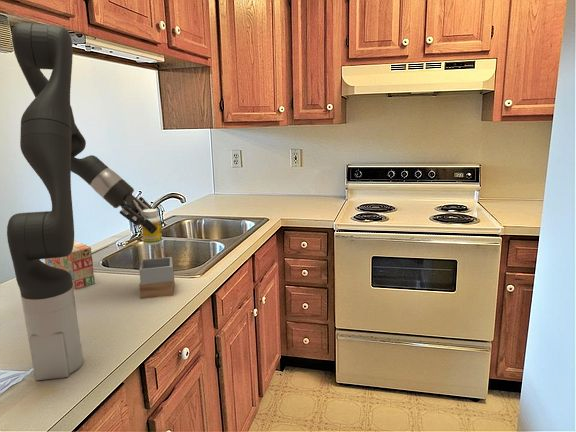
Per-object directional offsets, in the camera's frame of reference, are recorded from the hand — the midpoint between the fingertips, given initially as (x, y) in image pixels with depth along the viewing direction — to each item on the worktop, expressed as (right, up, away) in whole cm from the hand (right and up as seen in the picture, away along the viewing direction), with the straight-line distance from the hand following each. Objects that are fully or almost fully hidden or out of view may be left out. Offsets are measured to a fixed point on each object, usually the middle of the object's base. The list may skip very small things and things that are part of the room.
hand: (158, 228), depth 125 cm
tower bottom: (-1, -19, +5) cm, 20 cm away
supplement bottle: (-2, -4, +1) cm, 5 cm away
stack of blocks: (-33, -17, +15) cm, 40 cm away
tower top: (-1, -15, +4) cm, 15 cm away
